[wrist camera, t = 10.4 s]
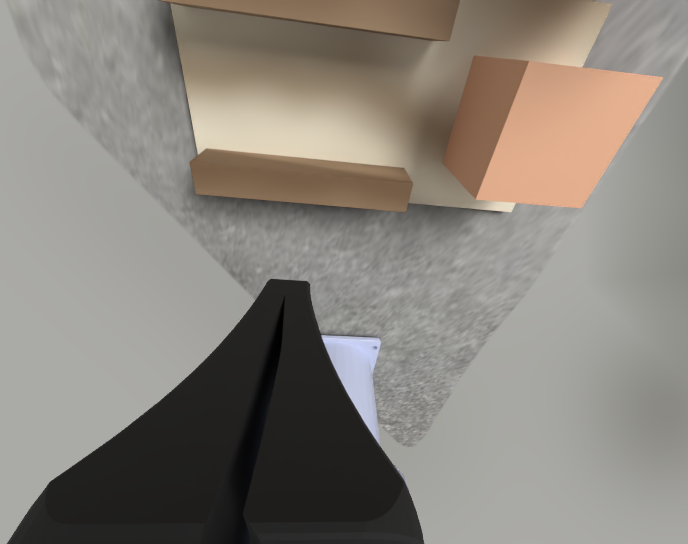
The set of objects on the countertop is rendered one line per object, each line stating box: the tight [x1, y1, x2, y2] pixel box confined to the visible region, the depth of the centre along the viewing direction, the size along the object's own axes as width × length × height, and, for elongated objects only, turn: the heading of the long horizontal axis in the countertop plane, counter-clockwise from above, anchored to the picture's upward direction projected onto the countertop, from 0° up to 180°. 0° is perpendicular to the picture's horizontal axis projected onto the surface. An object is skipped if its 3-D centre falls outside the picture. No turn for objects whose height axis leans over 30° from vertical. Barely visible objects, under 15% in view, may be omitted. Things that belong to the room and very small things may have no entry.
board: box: [170, 0, 613, 212], centre depth 15 cm, size 10×19×1 cm, turn 84°
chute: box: [159, 0, 460, 212], centre depth 14 cm, size 9×11×2 cm
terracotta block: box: [443, 56, 663, 208], centre depth 14 cm, size 5×5×5 cm
